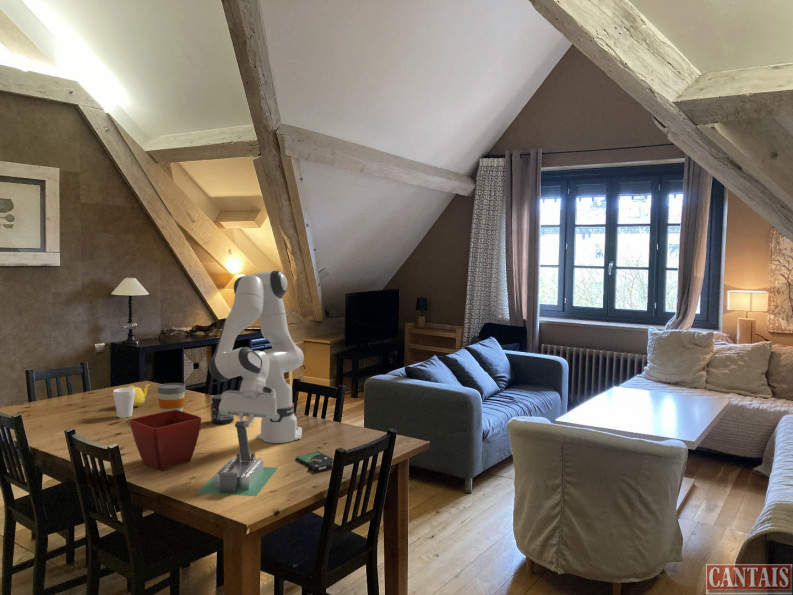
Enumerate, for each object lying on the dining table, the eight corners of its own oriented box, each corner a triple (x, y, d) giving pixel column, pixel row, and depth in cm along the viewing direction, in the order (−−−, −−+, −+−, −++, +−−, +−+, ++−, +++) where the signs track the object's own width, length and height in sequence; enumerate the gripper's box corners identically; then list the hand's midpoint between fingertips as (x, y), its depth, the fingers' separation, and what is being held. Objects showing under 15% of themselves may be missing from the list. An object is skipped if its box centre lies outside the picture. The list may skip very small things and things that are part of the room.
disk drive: (339, 468, 225) (317, 457, 237) (339, 461, 225) (317, 450, 236) (315, 475, 219) (294, 463, 230) (315, 467, 218) (294, 456, 230)
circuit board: (224, 468, 223) (224, 465, 223) (278, 470, 221) (278, 467, 221) (195, 496, 197) (195, 493, 197) (256, 498, 195) (256, 495, 195)
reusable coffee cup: (152, 417, 289) (151, 386, 288) (174, 411, 300) (174, 381, 299) (169, 421, 283) (169, 389, 282) (191, 415, 293) (191, 384, 292)
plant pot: (129, 462, 227) (128, 418, 226) (176, 450, 242) (175, 408, 241) (155, 475, 215) (154, 428, 214) (203, 461, 230) (202, 417, 229)
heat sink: (230, 470, 217) (230, 451, 217) (263, 472, 216) (263, 452, 216) (209, 492, 198) (209, 471, 197) (245, 493, 197) (245, 472, 197)
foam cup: (128, 413, 297) (128, 386, 296) (139, 416, 291) (138, 389, 290) (109, 417, 289) (109, 390, 288) (120, 420, 284) (119, 393, 283)
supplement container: (213, 418, 288) (213, 393, 287) (236, 418, 289) (236, 393, 288) (207, 425, 278) (207, 399, 277) (231, 425, 278) (230, 399, 277)
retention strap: (240, 463, 214) (242, 459, 216) (249, 464, 214) (250, 460, 216) (234, 424, 208) (236, 421, 210) (243, 425, 207) (245, 421, 209)
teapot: (146, 401, 320) (145, 381, 319) (155, 405, 312) (154, 384, 311) (110, 407, 307) (110, 386, 306) (118, 411, 299) (118, 390, 298)
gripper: (222, 385, 219) (213, 419, 210) (279, 390, 220) (272, 424, 211) (224, 394, 224) (215, 428, 215) (280, 399, 225) (273, 432, 216)
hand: (244, 426), depth 213 cm, fingers closed
